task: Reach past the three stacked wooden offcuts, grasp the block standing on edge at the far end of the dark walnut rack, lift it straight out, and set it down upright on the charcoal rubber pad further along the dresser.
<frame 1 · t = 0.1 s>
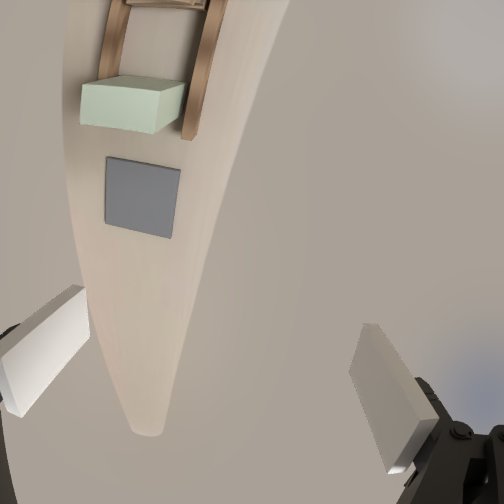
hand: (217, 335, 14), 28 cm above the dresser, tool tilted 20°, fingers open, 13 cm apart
rack: (160, 54, 31), on the dresser
rubber pad: (140, 197, 41), on the dresser
block: (152, 94, 33), on the dresser
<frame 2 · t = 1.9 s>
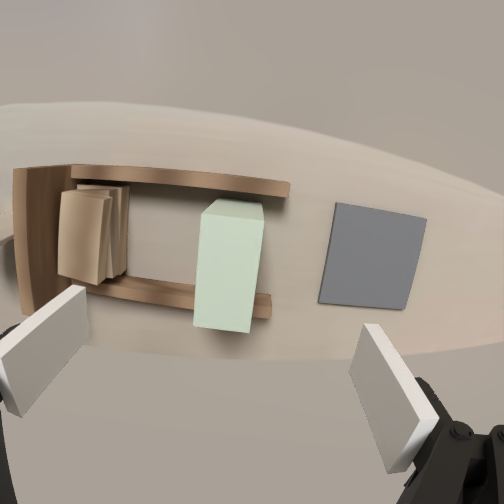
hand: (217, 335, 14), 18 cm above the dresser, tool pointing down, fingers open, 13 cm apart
offcut stack: (92, 232, 28), in the rack
rack: (184, 235, 31), on the dresser
milkshake: (15, 221, 31), on the dresser
rubber pad: (373, 258, 31), on the dresser
block: (235, 241, 31), on the dresser
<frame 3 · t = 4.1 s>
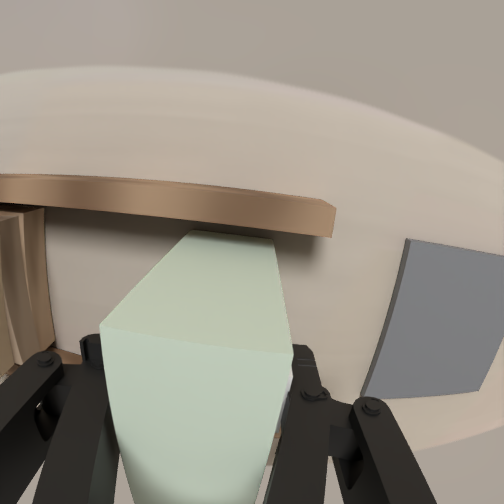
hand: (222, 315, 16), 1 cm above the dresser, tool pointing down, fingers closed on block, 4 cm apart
rack: (134, 295, 17), on the dresser
rubber pad: (451, 327, 17), on the dresser
block: (223, 309, 17), on the dresser, touching gripper
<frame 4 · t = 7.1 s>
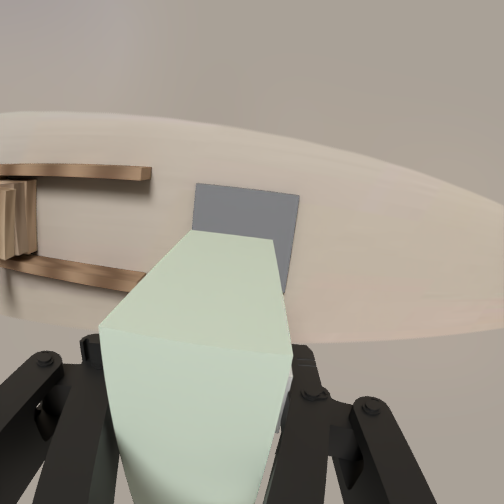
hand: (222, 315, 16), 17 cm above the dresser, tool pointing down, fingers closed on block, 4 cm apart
offcut stack: (7, 218, 29), in the rack
rack: (74, 219, 32), on the dresser
rubber pad: (241, 238, 33), on the dresser
block: (223, 309, 17), point 16 cm above the dresser, touching gripper
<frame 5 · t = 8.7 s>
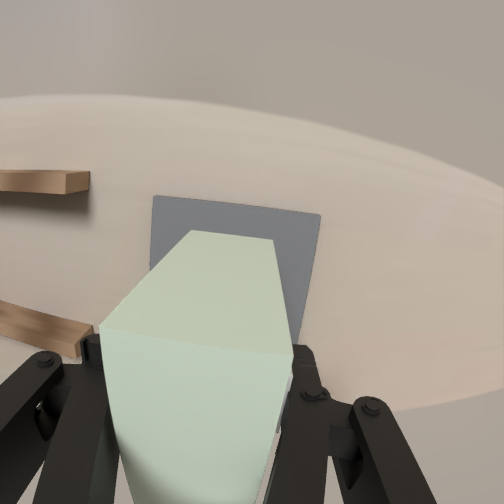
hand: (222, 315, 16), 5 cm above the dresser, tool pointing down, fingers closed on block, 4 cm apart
rack: (1, 246, 20), on the dresser
rubber pad: (227, 282, 21), on the dresser
block: (223, 309, 17), point 4 cm above the dresser, touching gripper
when the fingers open (2 cm above the dresser, at t = 10.2 s): block stays where it is, resting on rubber pad.
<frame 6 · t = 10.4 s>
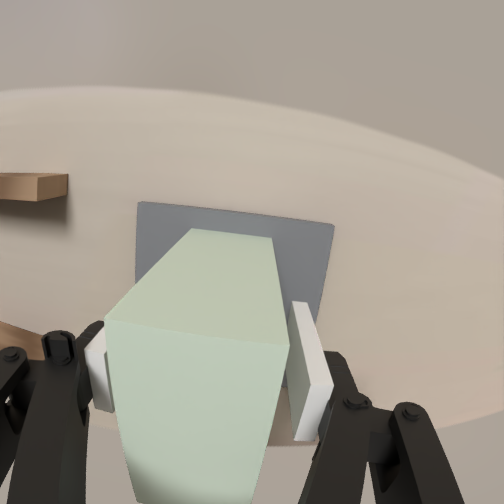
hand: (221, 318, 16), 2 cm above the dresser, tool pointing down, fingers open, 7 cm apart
rubber pad: (225, 302, 18), on the dresser
block: (223, 306, 17), point 1 cm above the dresser, touching rubber pad
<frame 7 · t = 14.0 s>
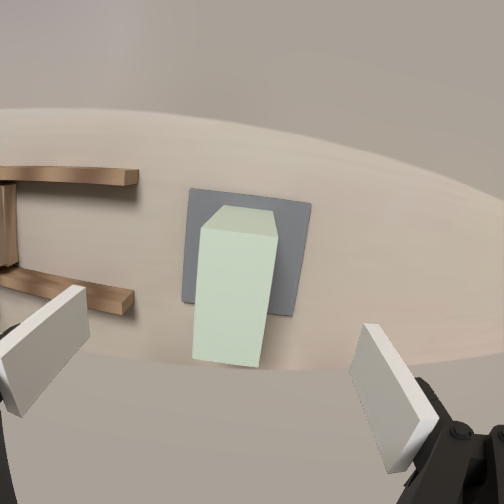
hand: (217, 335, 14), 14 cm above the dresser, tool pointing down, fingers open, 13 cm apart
rack: (56, 228, 28), on the dresser
rubber pad: (243, 253, 28), on the dresser
block: (242, 255, 27), point 1 cm above the dresser, touching rubber pad
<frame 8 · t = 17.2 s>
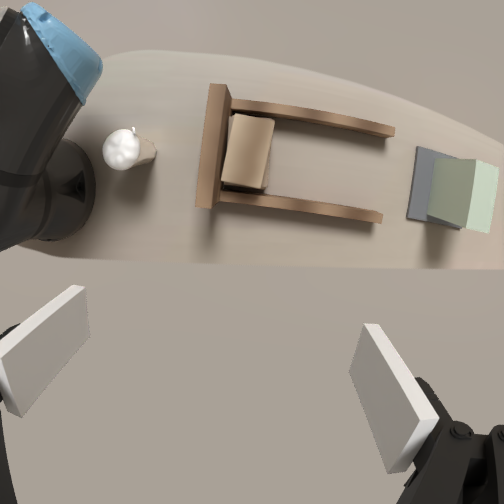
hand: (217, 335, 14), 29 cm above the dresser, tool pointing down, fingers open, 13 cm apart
offcut stack: (248, 151, 37), in the rack
rack: (315, 162, 40), on the dresser
milkshake: (147, 149, 40), on the dresser
rubber pad: (440, 188, 40), on the dresser
block: (442, 188, 39), point 1 cm above the dresser, touching rubber pad
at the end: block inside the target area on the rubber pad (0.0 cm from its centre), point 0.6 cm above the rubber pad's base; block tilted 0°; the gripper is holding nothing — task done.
